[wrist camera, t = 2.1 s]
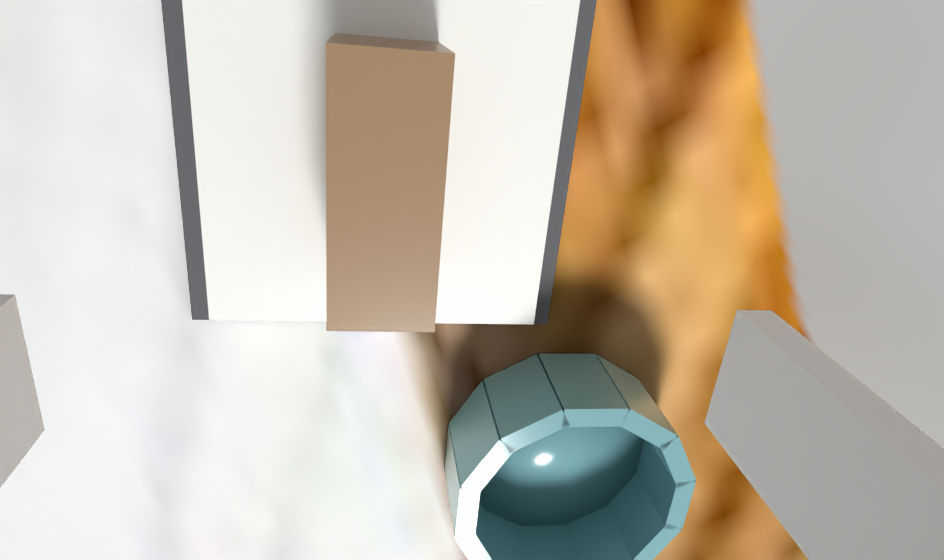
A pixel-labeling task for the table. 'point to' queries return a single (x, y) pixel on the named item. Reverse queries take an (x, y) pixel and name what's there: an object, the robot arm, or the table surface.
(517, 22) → the cover board
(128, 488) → the table surface
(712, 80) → the table surface
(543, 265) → the mat
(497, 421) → the bowl
